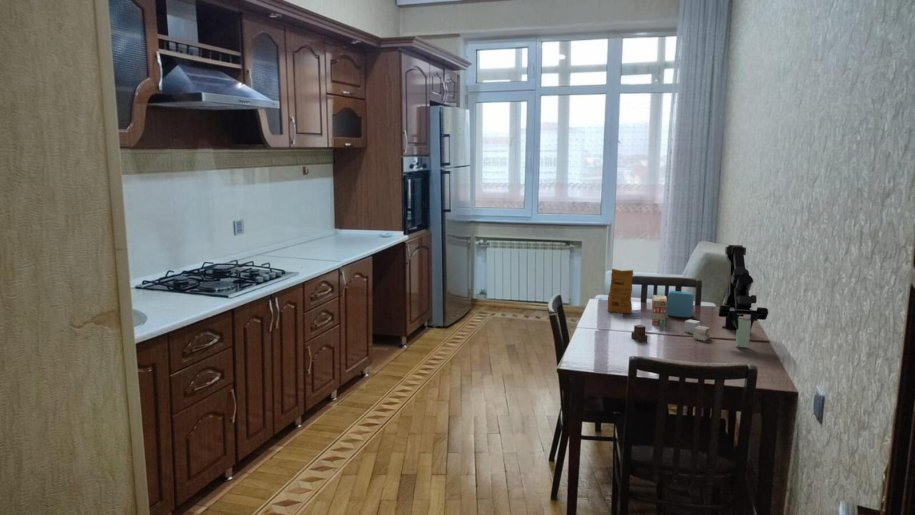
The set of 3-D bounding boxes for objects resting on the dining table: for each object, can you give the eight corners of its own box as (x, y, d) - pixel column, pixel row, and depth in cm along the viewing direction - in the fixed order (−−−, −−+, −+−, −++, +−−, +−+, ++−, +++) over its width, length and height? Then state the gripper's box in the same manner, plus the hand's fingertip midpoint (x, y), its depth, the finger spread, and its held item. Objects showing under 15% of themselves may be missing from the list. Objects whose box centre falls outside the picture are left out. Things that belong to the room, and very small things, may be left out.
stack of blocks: (651, 314, 326) (652, 291, 324) (664, 315, 324) (665, 291, 322) (651, 325, 305) (653, 299, 303) (665, 326, 303) (667, 300, 302)
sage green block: (735, 343, 272) (737, 318, 270) (747, 344, 271) (749, 318, 269) (737, 346, 268) (739, 320, 266) (748, 347, 266) (750, 321, 265)
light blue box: (692, 316, 324) (694, 292, 322) (691, 317, 319) (693, 294, 318) (667, 313, 328) (669, 290, 326) (666, 315, 324) (668, 292, 322)
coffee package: (608, 308, 339) (610, 267, 336) (633, 310, 334) (635, 268, 331) (605, 312, 330) (607, 270, 326) (630, 314, 325) (632, 271, 322)
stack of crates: (666, 344, 275) (667, 329, 274) (635, 347, 271) (636, 331, 270) (647, 335, 290) (647, 320, 289) (617, 337, 286) (618, 322, 284)
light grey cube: (689, 329, 297) (689, 319, 297) (699, 332, 294) (700, 321, 293) (684, 331, 294) (684, 321, 293) (694, 334, 290) (695, 323, 290)
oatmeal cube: (698, 336, 286) (698, 325, 285) (709, 338, 283) (710, 327, 282) (693, 338, 283) (693, 327, 282) (704, 341, 279) (705, 329, 278)
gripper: (721, 286, 272) (722, 317, 263) (769, 289, 267) (772, 321, 258) (717, 300, 280) (718, 331, 272) (764, 303, 275) (767, 335, 267)
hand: (743, 329), depth 267 cm, fingers closed on sage green block, 4 cm apart
